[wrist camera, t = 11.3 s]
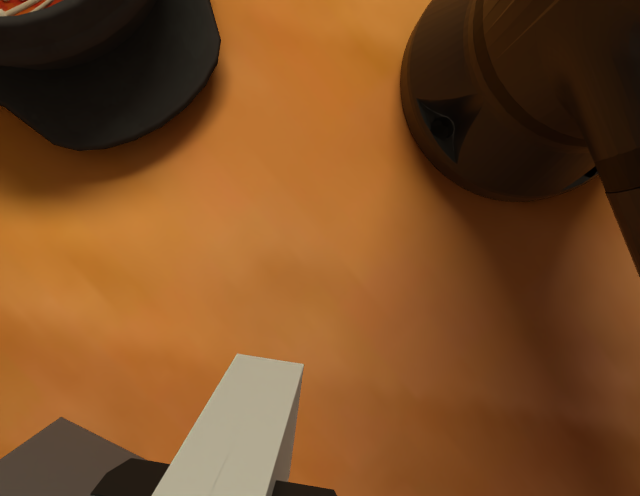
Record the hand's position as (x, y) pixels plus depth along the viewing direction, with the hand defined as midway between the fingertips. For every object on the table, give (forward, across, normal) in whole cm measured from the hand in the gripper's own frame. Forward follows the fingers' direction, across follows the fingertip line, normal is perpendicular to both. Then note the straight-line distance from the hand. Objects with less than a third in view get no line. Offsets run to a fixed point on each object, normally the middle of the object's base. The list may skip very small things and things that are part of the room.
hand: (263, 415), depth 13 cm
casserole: (+26, -20, +14) cm, 35 cm away
